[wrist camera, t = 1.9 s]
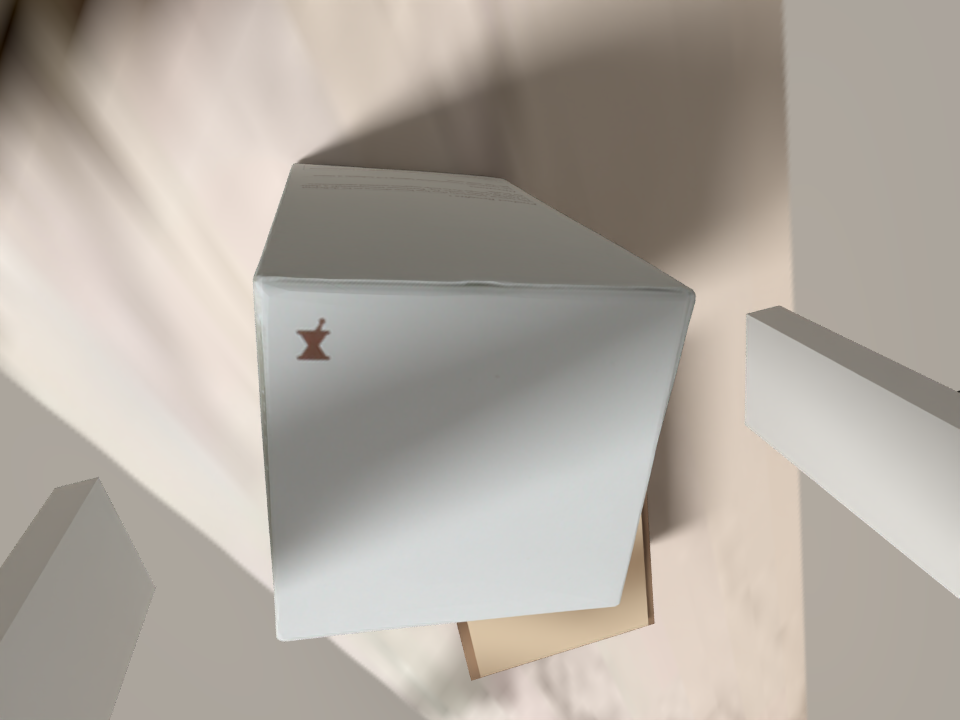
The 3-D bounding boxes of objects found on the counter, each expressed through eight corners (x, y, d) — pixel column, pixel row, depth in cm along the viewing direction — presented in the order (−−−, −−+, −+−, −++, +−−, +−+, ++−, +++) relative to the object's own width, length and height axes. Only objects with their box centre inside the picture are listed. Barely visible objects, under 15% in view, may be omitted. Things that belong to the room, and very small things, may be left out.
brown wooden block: (408, 425, 25) (422, 489, 21) (599, 376, 26) (646, 428, 22) (453, 606, 29) (472, 687, 25) (615, 558, 30) (657, 629, 26)
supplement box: (291, 369, 23) (257, 654, 12) (289, 157, 20) (241, 262, 9) (488, 371, 25) (624, 619, 13) (513, 176, 22) (710, 284, 11)
